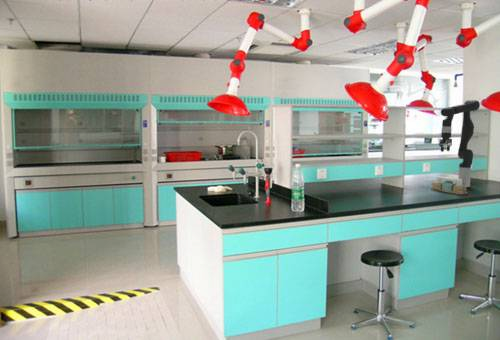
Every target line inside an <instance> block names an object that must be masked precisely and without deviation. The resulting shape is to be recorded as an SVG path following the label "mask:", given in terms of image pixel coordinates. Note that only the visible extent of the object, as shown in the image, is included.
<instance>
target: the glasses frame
mask: <svg viewBox="0 0 500 340" xmlns="http://www.w3.org/2000/svg"><path fill="white" fill-rule="evenodd" d="M446 180H447V181H453V183H456V185H457V186H462V180H461V179H458V178H453V177H446V176H437V177H436V182H437V183H441V182H442V181H446Z"/></svg>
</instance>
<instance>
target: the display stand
mask: <svg viewBox="0 0 500 340" xmlns="http://www.w3.org/2000/svg"><path fill="white" fill-rule="evenodd" d="M431 183H432V185H431V186H432V187H431V188H430V190H433V191H438V192H445V193H451V194H456V195H466V194H468V192H467V187H466V186H457V182H454V181H447V180H445V181H444V182H442V181H441V183H437V181H434V182H431Z"/></svg>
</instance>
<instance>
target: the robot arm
mask: <svg viewBox="0 0 500 340" xmlns="http://www.w3.org/2000/svg"><path fill="white" fill-rule="evenodd" d="M480 105H481V104H480V102H479V100H476V99H472V100H471V99H468V100H465V101H464V103H463V104H456V105H453V106H447V107H443V108H441V110H440V115H441V116H442V117H446V119H445V118H444V119H443V120H442V122H441V123H442V124H441V134H440V137H441V138H440V139H439V147H440V152H445V146H446V152H450V151H451V149H450V148H451V146H452V145H453V139H452V125H453V124H452V122H453V119H454V117H455V115H459V114H462V113H463V114H462V115H463V118H462V119H463V120H462V127H461V134H460V140H459V141H460V142H459V147H458V150H457V156H458V158H459V159H461V160H462V162H460V163H459V165H458V178H457V179H461V180H462V186H466V188H470V187H471V168H472V164H473V160H474V153H473V150H472V149H470V148H468V144H469V141H470V140H471V139H472V137H473V135H474V132H475V131H474V130H475V125H474V122H473V121H472V118H471V112H475V111H478V110H479V109H480Z"/></svg>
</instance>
